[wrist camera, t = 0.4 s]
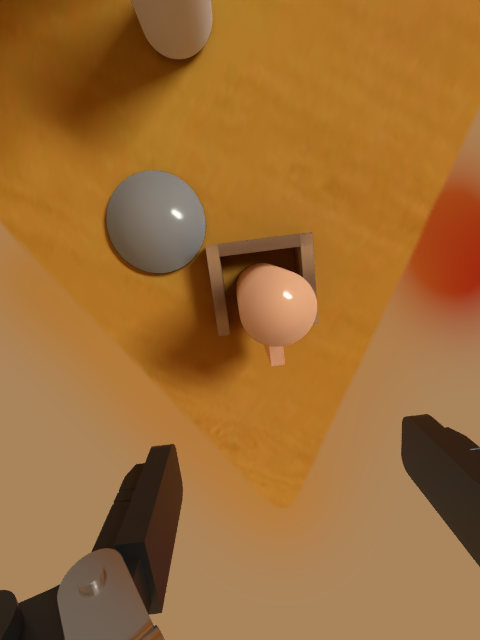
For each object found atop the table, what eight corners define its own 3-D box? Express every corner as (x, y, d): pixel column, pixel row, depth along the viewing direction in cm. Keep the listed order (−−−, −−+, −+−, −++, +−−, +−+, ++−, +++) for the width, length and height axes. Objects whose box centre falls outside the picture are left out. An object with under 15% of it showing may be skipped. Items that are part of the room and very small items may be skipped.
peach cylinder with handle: (232, 265, 33) (234, 274, 21) (284, 259, 33) (314, 264, 21) (242, 340, 35) (248, 387, 23) (290, 334, 35) (321, 377, 23)
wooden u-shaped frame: (207, 246, 32) (205, 245, 29) (304, 233, 32) (312, 232, 29) (219, 329, 34) (218, 336, 31) (310, 317, 34) (318, 323, 31)
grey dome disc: (98, 178, 30) (96, 177, 30) (197, 166, 30) (197, 164, 30) (119, 278, 33) (117, 278, 32) (212, 266, 33) (211, 266, 32)
